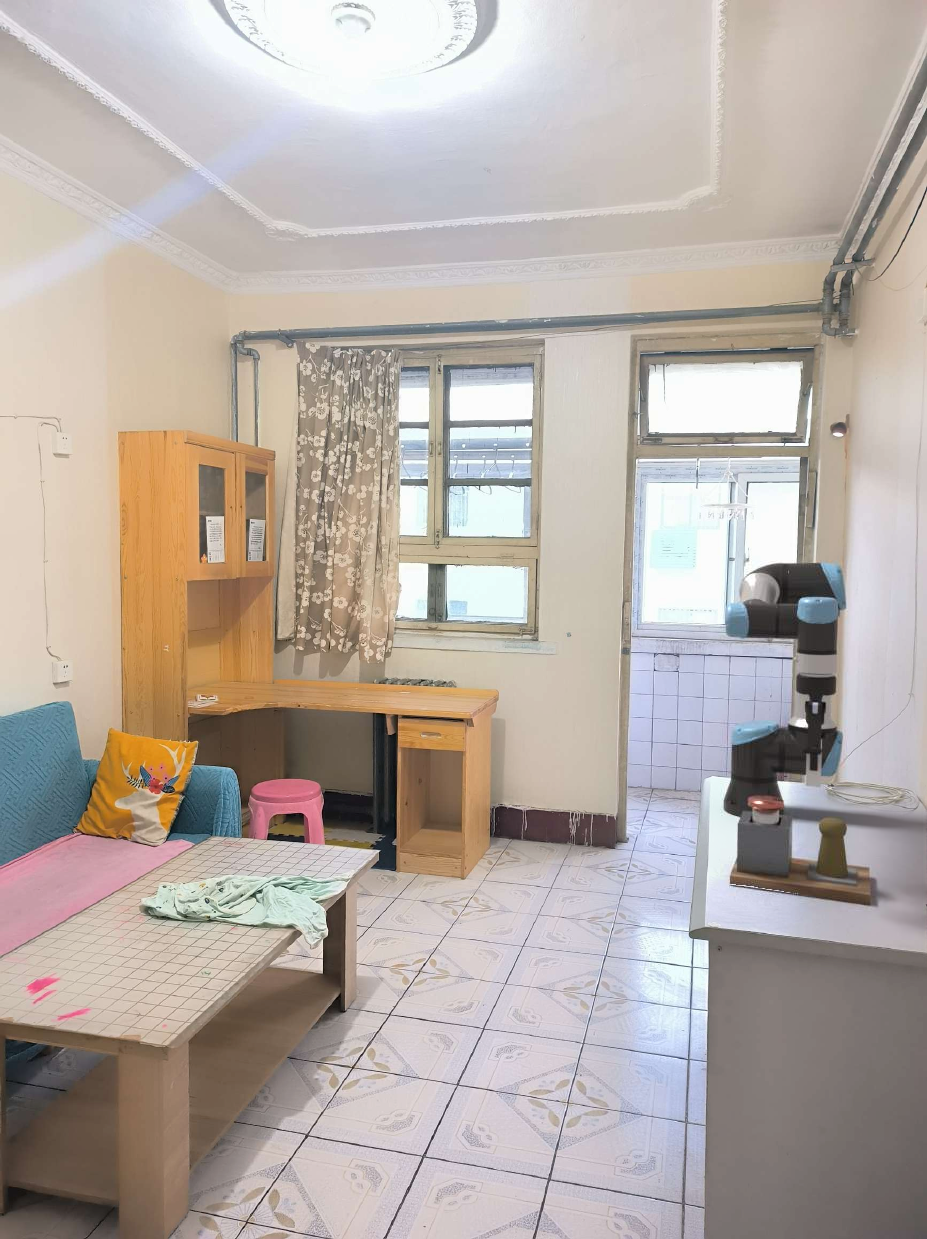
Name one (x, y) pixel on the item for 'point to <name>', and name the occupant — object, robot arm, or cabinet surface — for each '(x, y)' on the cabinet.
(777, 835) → the grey push button box
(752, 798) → the press plunger
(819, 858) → the olive knobbed peg
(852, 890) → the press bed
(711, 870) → the cabinet surface
